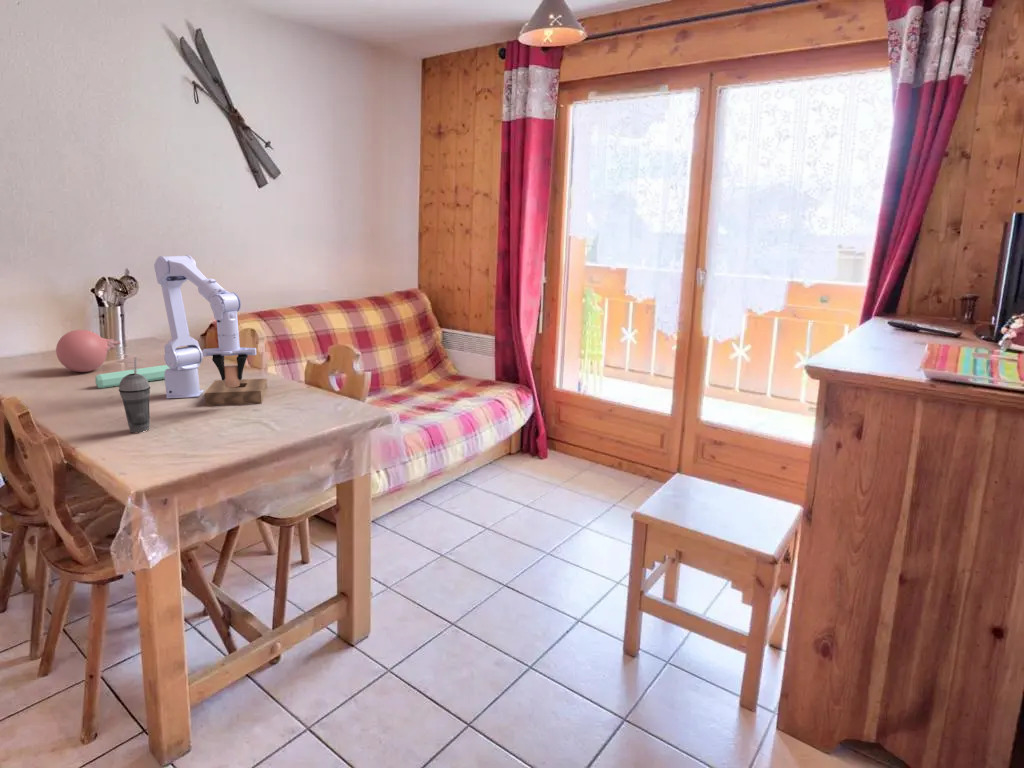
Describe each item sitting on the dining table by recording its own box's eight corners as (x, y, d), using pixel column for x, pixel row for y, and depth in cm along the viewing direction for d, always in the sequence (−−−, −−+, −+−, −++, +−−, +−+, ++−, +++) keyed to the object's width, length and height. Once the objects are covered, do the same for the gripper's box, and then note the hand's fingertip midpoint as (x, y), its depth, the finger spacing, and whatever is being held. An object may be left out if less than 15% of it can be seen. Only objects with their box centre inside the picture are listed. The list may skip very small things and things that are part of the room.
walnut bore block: (205, 405, 195) (204, 393, 194) (216, 392, 210) (214, 380, 209) (261, 403, 199) (260, 390, 198) (267, 390, 214) (266, 378, 213)
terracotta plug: (224, 387, 190) (222, 368, 188) (226, 384, 194) (225, 365, 192) (238, 387, 191) (237, 367, 189) (240, 383, 195) (239, 364, 193)
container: (94, 371, 209) (176, 360, 226) (91, 375, 214) (172, 364, 230) (99, 389, 209) (180, 376, 226) (96, 392, 213) (176, 380, 230)
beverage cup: (132, 426, 175) (123, 354, 170) (160, 426, 175) (151, 354, 170) (118, 434, 168) (108, 360, 163) (147, 434, 168) (138, 360, 163)
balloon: (126, 371, 235) (121, 330, 231) (60, 378, 223) (53, 335, 220) (121, 363, 247) (116, 324, 243) (58, 370, 235) (51, 328, 231)
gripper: (198, 337, 183) (203, 383, 186) (252, 336, 186) (256, 381, 190) (203, 333, 190) (208, 377, 193) (255, 332, 193) (259, 375, 196)
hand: (232, 379), depth 192 cm, fingers closed on terracotta plug, 4 cm apart
